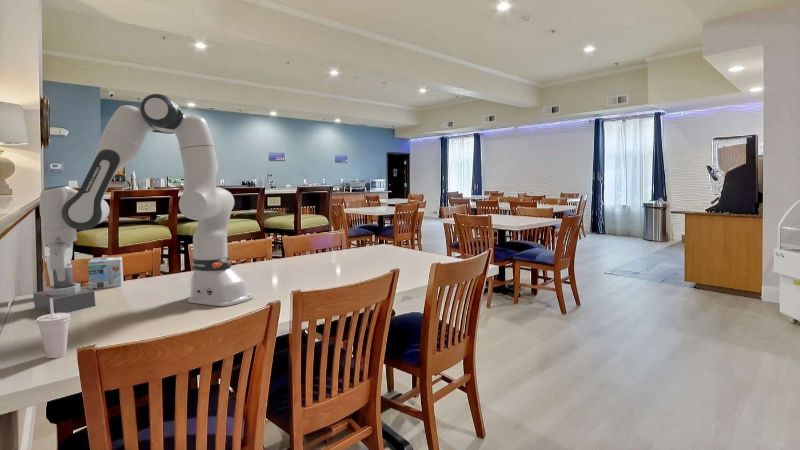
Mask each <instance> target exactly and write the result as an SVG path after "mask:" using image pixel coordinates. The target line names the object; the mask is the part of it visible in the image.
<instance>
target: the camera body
mask: <svg viewBox="0 0 800 450" xmlns="http://www.w3.org/2000/svg"><path fill="white" fill-rule="evenodd" d="M95 293H96V292H95V290H93V289H88V288H82V286H81V283H79V282H73V287H68V288H61V289H54V285H52V286H51V285H50V286H47V287H46V290H44V291H43V290H42V291H38V292H33V294H32V295H33V303H34V309H36V310H39V311H43V312H46V313H49V314H51V310H50V298H52V299H53V310H54V313H70V312H75V311H79V310H80V311H81V310H84V309H86V308H87V309H88V308H92V307H95V306H96V296H95Z"/></svg>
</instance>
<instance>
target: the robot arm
mask: <svg viewBox="0 0 800 450" xmlns="http://www.w3.org/2000/svg"><path fill="white" fill-rule="evenodd" d="M150 132H152V133H160V134H164V135H165V134H166V135H170V134H171V135H172V134H174V135H175V136H176V139H177V142H178V147H179V152H180V157H181V163H182V167H183V173H184V174H183V177H184V178H183V192H182V193H181V196H180V198H179V200H178V208H179V212H180V213H181V214H182V216H184V217H186V218H187V219H189V220H193V221H198V222H197V226H196V230H195V231H194V233H193V235H192V236H193V237H192V247H193V248H192V250H193V258H192V262H191V265H192V269H193V274H192V276H191V280H190V282H191V283H190V294H189V295H190V297H189V298H188V299H187V302H188V303H189V304H198V305H207V306H208V305H209V306H217V307H227V306H229V307H230V306H233V305H237V304H241V303H245V302H247V301H250V300H251V299H253V298H254V297H255V295H254V293H251V292H249V291H247V284H246V281H245V279H244V278H243V277H241V275H240V274H238V273H237V272H236V271H235V270H234V269H233V268H232V264H233V262H234V260H233V259H231V260H230V257H229V256H228V231H229V230H228V229H229V224H230V219H231V214H232V210H233V209H234V207H235V199H234V195H233V194H232V192H230V191H229V190H227V189H225V188H222V187H217V185H216V184H217V183H216V182H217V173H218V172H219V163H218V158H217V153H216V147H215V143H214V138H213V135H212V132H211V130H210V127H209V125H208V122H207V121H206V119H205V118H203V117H202V116H199V115H187V114H185V113H184V112H183V110H182V109H181V108H180V106H179V105H178V103H176V102H175V101H174V100H172V99H171V98H170V97H168V96H167V95H164V94H160V93H152V94H149V95H147V96H145V97H144V99H142V100H141V103H140V108H139V107H138V106H137V107H136V106H133V105H128V104H127V105H126V104H125V105H120V106H119V107H118V108H117V109H116V110H115V111H114V113H113V114H112V116H111V117H110V118H109V121H108V122H107V124H106V126H105V128H104V130H103V132H102V135H101V137H100V140H99V142H98V146H97V151H96V153H95V155H94V159H93V161H92V164H91V167H90V168H89V171H88V173H87V174H86V177H85V178H84V180H83V182H82V184H81V186H80V188H79V190H77V189H74V188H73V187H71V186H69V185H57V186H50V187H47V188H44V189H43V190H41V192H40V194H39V215H40V218H41V220H42V221H41V226H40V227H41V228H40V229H41V231H40V232H41V240H42V244H47V247H48V249H49V251H48V252H49V253H48V254H50V268H51V270H56V274H57V278H58V281H64V280H65V268H66V266H67V265H68V263H69V262H70V260H71V261H72V260H73V259H72V258H73V252H74V249H73V248H74V242H77V241H78V235H77V230H80V231H88V230H90V229H93V228H95V227H96V226H97V225H99V224H101V223H102V222H105V220H106V219H107V218H108V217H109V215H110V212H111V210H110V209H111V208H110V206H109V204H108V202H107V201H106V200H105V199H103V198H104V196H105V195H106V192H107V190H108V188H109V186H110V185H111V182H112V180H113V178H114V177H115V175H116V174H117V173H118V172H119V171H120V170H122V169H124V168H125V167H126V166H128V165H129V164H131V163H132V162H133V160H134V159H135V158H136V156H137V154H138V153H139V151H140V148H141V147H142V145H143V142H144V140H145V139H146V136H147V134H148V133H150Z"/></svg>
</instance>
